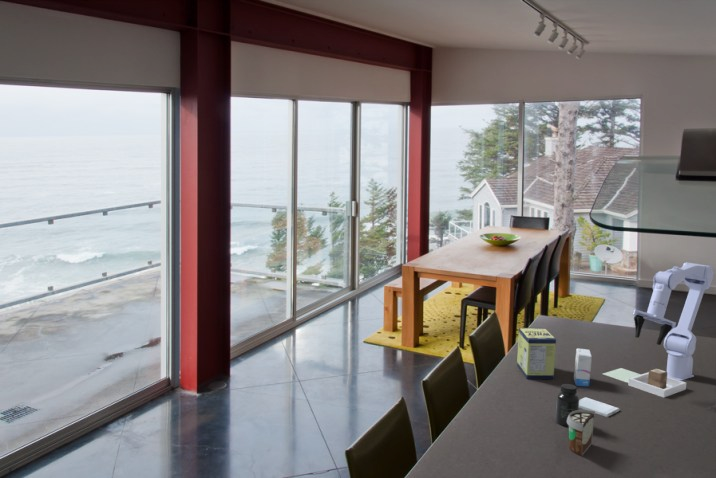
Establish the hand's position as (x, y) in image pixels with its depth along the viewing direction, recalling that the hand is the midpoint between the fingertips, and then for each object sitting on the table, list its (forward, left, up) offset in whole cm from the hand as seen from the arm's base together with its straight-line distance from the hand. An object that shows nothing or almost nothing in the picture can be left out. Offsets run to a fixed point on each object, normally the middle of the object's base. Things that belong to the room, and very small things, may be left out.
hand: (647, 340), depth 250 cm
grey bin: (-7, +1, -19) cm, 20 cm away
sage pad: (-8, -13, -19) cm, 24 cm away
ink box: (+11, -18, -19) cm, 29 cm away
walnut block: (-7, +1, -18) cm, 20 cm away
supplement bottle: (+45, +2, -19) cm, 49 cm away
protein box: (+17, -35, -19) cm, 43 cm away
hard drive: (+27, 0, -20) cm, 33 cm away
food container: (+57, +15, -19) cm, 62 cm away
